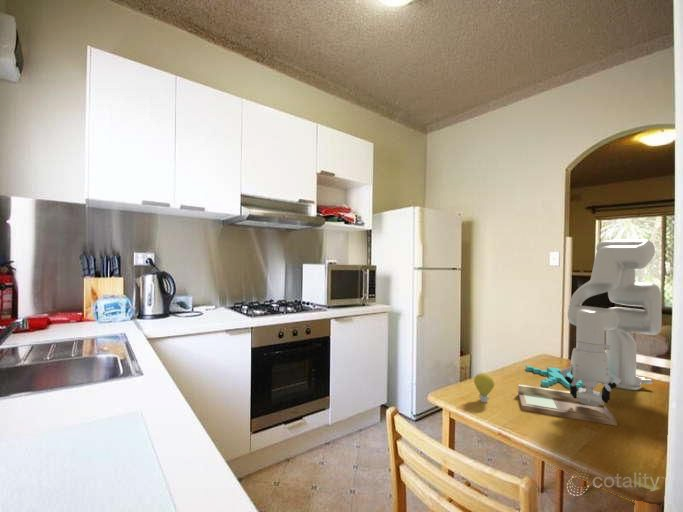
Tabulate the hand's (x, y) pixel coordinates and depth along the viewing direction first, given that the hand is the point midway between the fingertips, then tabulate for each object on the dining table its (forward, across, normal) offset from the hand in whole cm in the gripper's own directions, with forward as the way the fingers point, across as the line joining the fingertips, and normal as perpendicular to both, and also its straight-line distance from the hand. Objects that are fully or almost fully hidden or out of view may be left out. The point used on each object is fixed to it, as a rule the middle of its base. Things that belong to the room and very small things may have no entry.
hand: (589, 398), depth 110 cm
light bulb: (+5, +32, +4) cm, 33 cm away
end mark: (+3, +14, 0) cm, 15 cm away
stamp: (+2, 0, 0) cm, 2 cm away
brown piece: (+5, +8, 0) cm, 9 cm away
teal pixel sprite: (+5, +2, -32) cm, 32 cm away
